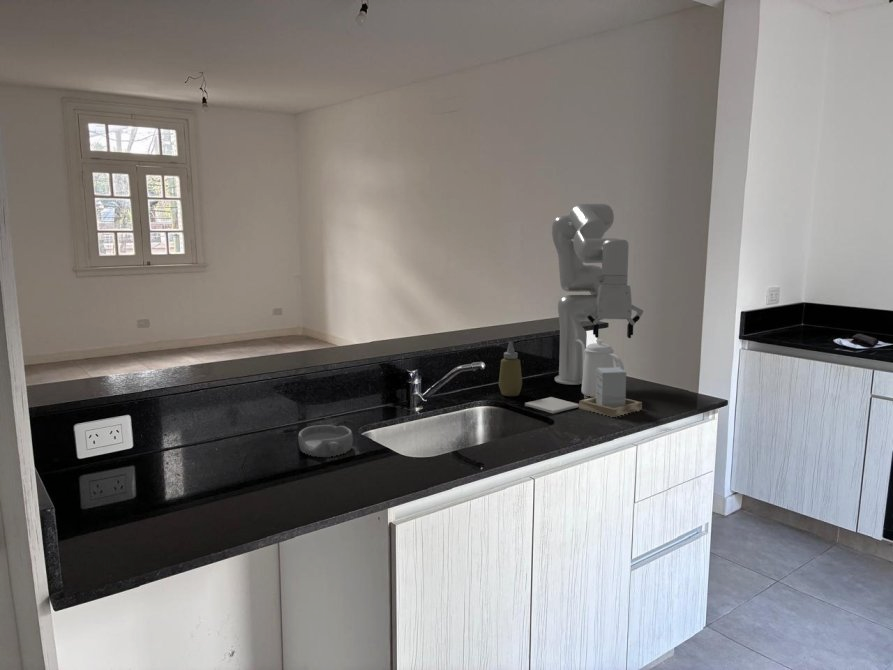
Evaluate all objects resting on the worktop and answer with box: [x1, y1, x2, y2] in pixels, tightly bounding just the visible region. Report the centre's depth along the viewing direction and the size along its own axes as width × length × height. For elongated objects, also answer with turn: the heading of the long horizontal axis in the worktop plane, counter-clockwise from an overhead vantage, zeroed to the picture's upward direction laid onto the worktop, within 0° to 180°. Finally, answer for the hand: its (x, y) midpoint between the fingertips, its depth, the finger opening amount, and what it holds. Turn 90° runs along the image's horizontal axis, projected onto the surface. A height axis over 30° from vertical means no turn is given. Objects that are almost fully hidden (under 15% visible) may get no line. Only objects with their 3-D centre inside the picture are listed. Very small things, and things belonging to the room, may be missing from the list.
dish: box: [297, 424, 354, 458], centre depth 170 cm, size 14×14×5 cm
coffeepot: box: [576, 338, 625, 398], centre depth 223 cm, size 11×25×19 cm, turn 25°
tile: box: [524, 396, 579, 414], centre depth 210 cm, size 12×12×1 cm
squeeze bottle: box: [498, 341, 523, 397], centre depth 223 cm, size 8×8×18 cm
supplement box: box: [596, 366, 627, 408], centre depth 205 cm, size 7×7×13 cm
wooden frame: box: [578, 397, 643, 418], centre depth 205 cm, size 13×13×2 cm
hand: (612, 337), depth 202 cm, fingers open, 9 cm apart
